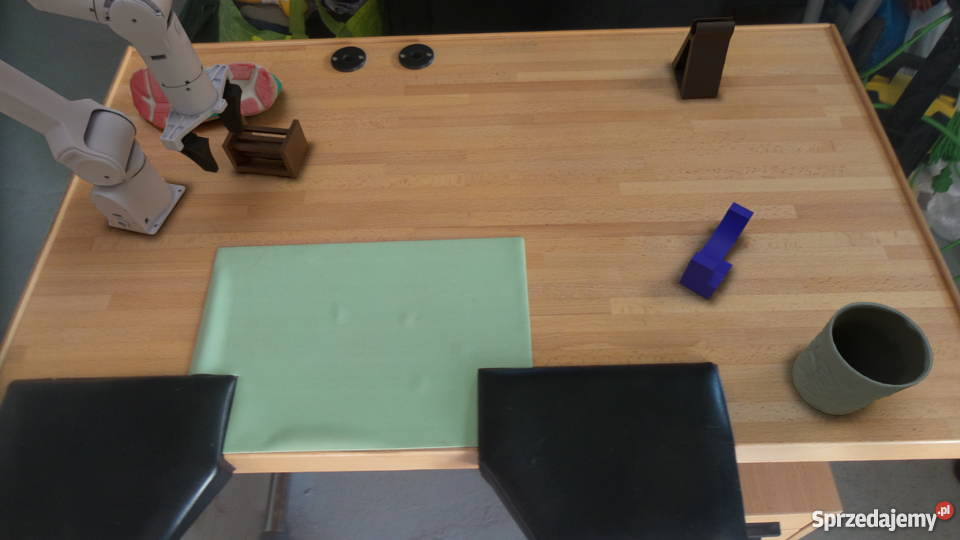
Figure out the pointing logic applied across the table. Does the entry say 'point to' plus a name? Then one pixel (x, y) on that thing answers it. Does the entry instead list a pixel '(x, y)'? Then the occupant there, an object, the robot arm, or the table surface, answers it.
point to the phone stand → (703, 57)
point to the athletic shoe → (250, 77)
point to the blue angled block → (716, 253)
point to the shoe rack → (267, 148)
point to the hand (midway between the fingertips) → (224, 150)
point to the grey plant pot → (861, 358)
